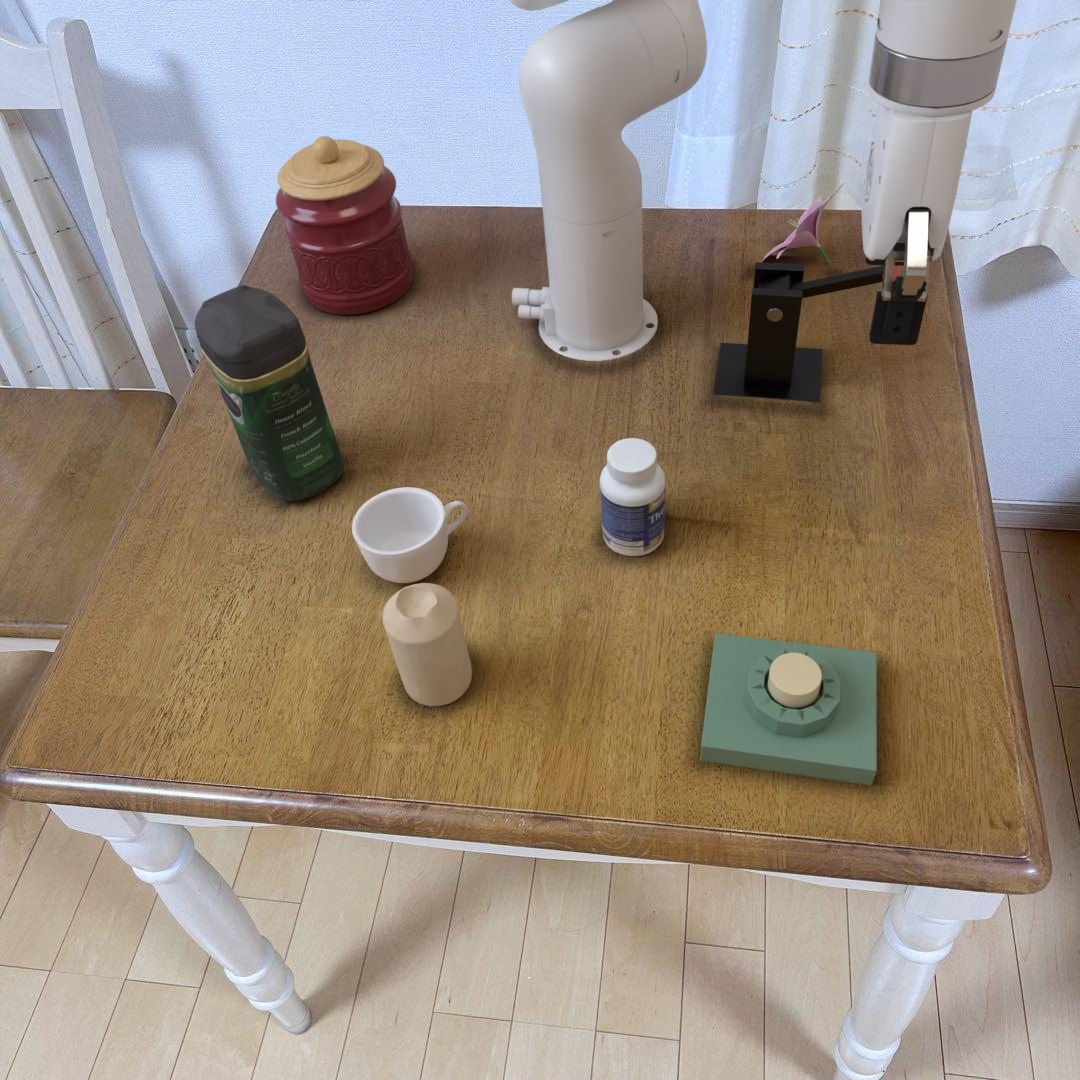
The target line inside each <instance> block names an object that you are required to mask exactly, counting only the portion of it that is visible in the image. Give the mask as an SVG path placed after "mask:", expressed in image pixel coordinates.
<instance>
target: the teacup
mask: <svg viewBox="0 0 1080 1080" xmlns="http://www.w3.org/2000/svg"><path fill="white" fill-rule="evenodd" d="M457 508H461V513H460V515H459V516H458V517H457V518H456V519H455V520H453V521H451V522H449V518H450V516H451V514H452V512H453V511H454V510H455V509H457ZM468 514H469V509H468V506H467V505H466V504H465V503H464V502H463V501H461V500H454V501H450V502H448V503H445V504H443V502H442V501H441V500H440V498H438V496H436V495H435V494H434V493H433V492H431V491H428V490H427V489H423V488H419V487H414V486H413V487H410V486H404V487H395V488H391V489H388V490H385V491H382V492H380V493H378V494H376V495H374V496H372V497H371V498H369V499H368V500H367V501H365V502H364V503H363V504H362V505H361V506H360V507H359V508H358V510H357V512H356V513H355V515H354V517H353V519H352V523H351V532H352V536H353V539H354V540H355V543H356V544H357V547H358V549H359V551H360V553H361V556H363V558H364V561H365V563H367V566H368V567H369V568H370V570H371V571H372V572H373V573H374V574H375V575H377V576H378V577H379V578H381V579H383V580H386V581H388V582H391V583H396V584H411V583H416V582H418V581H421V580H423V579H425V578H427V577H429V576H430V575H431V574H433V573H434V572H435V571H436V570H437V569H438V568H439V567H440V565H441V564H442V562H443V560H444V559H445V556H446V553H447V550H448V544H449V535H451V533H453V531H455V530H456V529H457V528H458V527H459V526H460V525H461V524H463V522H464V521H465V520H466V519H467V516H468ZM448 522H449V523H448Z"/></svg>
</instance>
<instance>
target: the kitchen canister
mask: <svg viewBox="0 0 1080 1080" xmlns="http://www.w3.org/2000/svg"><path fill="white" fill-rule="evenodd" d="M276 181H277V184H278V187H279V189H278V191H277V193H276V195H275V206H276V209H277V210H278V212H279V213H280V214H281V215H282V216H283V217H284V218H285V221H284V225H283V230H284V234H285V237H286V239H287V240H288V243H289V246H290V248H291V252H292V255H293V256H292V257H293V258H294V262H295V266H296V269H297V271H298V275H297V276H298V281H299V284H300V287H301V289H302V291H303V293H304V294H305V295H306V298H307V300H308V301H309V303H311V304H312V306H313V307H314V308H317V309H318V310H320V311H322V312H325V313H330V314H335V315H342V316H343V315H346V316H347V315H348V316H350V315H361V314H366V313H371V312H373V311H377V310H379V309H380V310H381V309H382V308H384V307H386V306H388V305H391V304H392V303H394V302H395V301H397V300H398V299H400V298H401V297H402V296H404V294H405V293H406V292H407V291H408V290H409V288H410V286H411V285H412V282H413V278H414V277H413V271H414V261H413V258H412V257H413V256H412V253H411V250H410V249H409V246H408V240H407V236H406V230H405V226H404V221H403V216H402V214H403V209H402V205H401V203H400V201H399V199H398V198H397V197H396V196H395V195H394V194H395V192H396V189H397V179H396V176H395V174H394V172H392V171H391V169H389V168H388V167H387V166H386V165H385V160H384V157H383V156H382V154H381V153H380V152H379V151H378V150H377V149H375V148H374V147H371V146H369V145H366V144H362V143H360V142H358V141H354V140H350V139H333V138H332V137H330V136H328V135H322V136H319V137H317V138H316V139H315V140H314V142H313V143H312V144H309V145H307V146H305V147H303V148H301V149H300V150H298V151H296V152H295V153H294V154H293V155H292V156H291V157H290V159H288V160H287V161H286V162H285V163H284V164H283V165H282V166H281V168H280V169H279V171H278V173H277V179H276Z"/></svg>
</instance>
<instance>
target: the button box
mask: <svg viewBox="0 0 1080 1080" xmlns="http://www.w3.org/2000/svg"><path fill="white" fill-rule="evenodd" d="M786 653H800V654H804V655H806V656H808V657H810V658H812V659H813V660H814V661H815V662H816V663H817V664H818V666H819V667H820V669H821V673H822V681H821V685H820V689H819V694H818V696H817V698H816V699H815V701H814V702H812V703H811V704H810V705H808V706H805V707H801V708H791V707H787V706H784V705H782V704H780V703H778V702H777V701H776V700H775V699H774V698H773V697H772V696H771V694H770V692H769V689H768V679H769V672H770V667H771V664H772V663H773V661H774V660H775V659H776V658H778V657H779V656H781V655H783V654H786ZM877 653H878V652H874V651H866V650H858V649H849V648H841V647H835V646H834V647H833V646H824V645H816V644H809V643H800V642H791V641H783V640H775V639H767V638H758V637H752V636H743V635H734V634H726V633H717V632H716V633H714V636H713V646H712V654H711V661H710V670H709V678H708V684H707V685H708V687H707V693H706V694H707V695H706V703H705V711H704V718H703V726H702V735H701V742H700V752H699V753H700V756H699V760H700V761H701V762H706V763H713V764H719V765H727V766H728V765H729V766H735V767H741V768H748V769H753V770H754V769H755V770H761V771H769V772H776V773H782V774H788V775H796V776H803V777H808V778H809V777H810V778H817V779H822V780H823V779H824V780H829V781H838V782H842V783H843V782H844V783H851V784H858V785H865V786H872V785H873V783H874V780H875V777H876V774H877V771H878V769H877V768H878V723H877V722H878V710H877V709H878V698H877V697H878V695H877V693H878V692H877V691H878V690H877V689H878V687H877V685H878V683H877V681H878V675H877V674H878V673H877V672H878V670H877V669H878V668H877V666H878V663H877V661H878V660H877V659H878V658H877V657H878V656H877V655H878V654H877Z"/></svg>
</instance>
